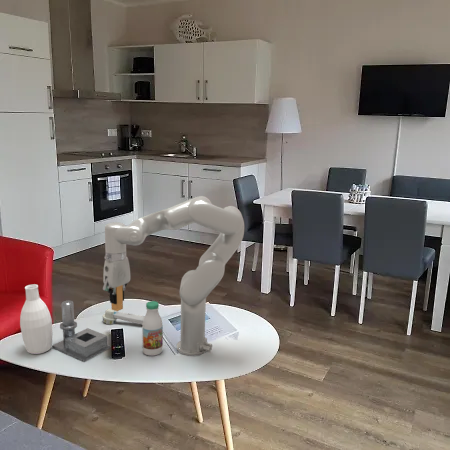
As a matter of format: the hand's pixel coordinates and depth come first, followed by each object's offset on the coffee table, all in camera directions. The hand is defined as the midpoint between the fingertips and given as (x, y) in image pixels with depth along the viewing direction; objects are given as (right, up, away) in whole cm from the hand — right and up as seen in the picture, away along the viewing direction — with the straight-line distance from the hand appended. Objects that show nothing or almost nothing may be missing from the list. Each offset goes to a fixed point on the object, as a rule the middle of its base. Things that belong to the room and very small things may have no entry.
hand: (117, 301), depth 175 cm
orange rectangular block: (0, -3, +1) cm, 3 cm away
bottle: (-30, -18, +1) cm, 35 cm away
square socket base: (-15, -18, +3) cm, 24 cm away
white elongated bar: (0, -14, +24) cm, 28 cm away
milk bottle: (+13, -20, +2) cm, 24 cm away
